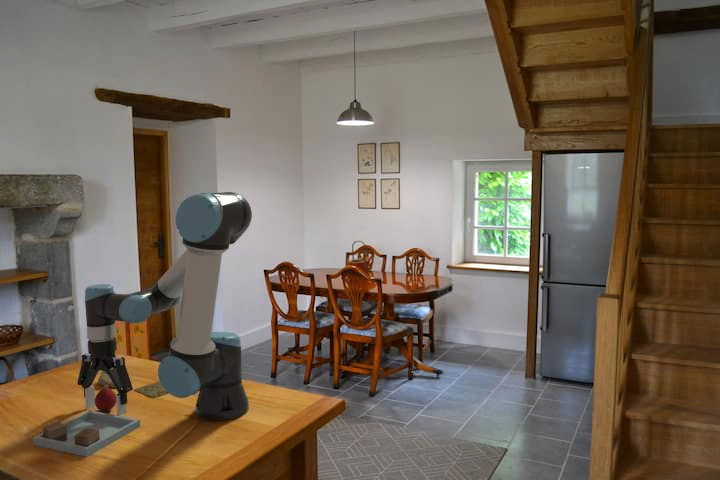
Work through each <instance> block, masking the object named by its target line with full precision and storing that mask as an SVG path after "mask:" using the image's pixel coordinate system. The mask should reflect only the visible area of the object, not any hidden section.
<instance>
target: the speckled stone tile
mask: <svg viewBox="0 0 720 480" xmlns="http://www.w3.org/2000/svg"><path fill="white" fill-rule="evenodd" d="M132 391H134V392H137V393H138V394H139V393H140V394H142V395H144V396H146V397H148V398H151V399H157V398H160V397H162V396H165V395H168V394H169V393H168V392H167V391H166V390H165V389H164V387H163V386H162V385H161V383H160V380H159V381H155V382H153V383H150V384H147V385H143V386H140V387H137V388H133V390H132Z"/></svg>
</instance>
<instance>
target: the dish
mask: <svg viewBox="0 0 720 480" xmlns="http://www.w3.org/2000/svg"><path fill="white" fill-rule="evenodd" d="M61 423H62V424H64V425H66V432H67V440H66V441H63V442H62V441H58V440H53V439H48V438H44V437H43V432H42V433H40V434H39V433H38V434H37V435H35V436H33V437H32V441H33V442H32V444H33V446H37V447H42V448H46V449H51V450H55V451H58V452H63V453H69V454H73V455H76V456H80V457H85V458H89V457H90V456H91V455H93V454H95V453H97V452H99V451H100V450H102V449H104V448H106V447H107V446H109V445H111V444H112V443H114V442H115V441H116V442H117V441H118V440H119V439H122V438H123V437H124V436H126V435H129V434H130V433H132V432H133V431H135V430H137V429H139V428H140V427H141V420H140V419H137V418H132V417H128V416H121V415H117V414H116V415H115V414H111V413H107V412H102V411H95V410H90V409H88V410H87V411H85V412H83V413H81V414H78V415H77V416H75V417H73V418H70V419H69V420H66V421H64V422H61ZM84 429H94V430H99V437H100V440H99V441H97V442H95V443H93V444H91V445H89V446H88V447H85V446H80V445H76V444H75V439H74V436H75V435H76V434H78V433H79V432H81V431H82V430H84Z"/></svg>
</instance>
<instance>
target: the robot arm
mask: <svg viewBox="0 0 720 480" xmlns="http://www.w3.org/2000/svg"><path fill="white" fill-rule="evenodd" d="M252 214H253V213H252V207H251V205H250V203H249V201H248V200H247V199H246V198H245V197H243V196H242V195H241V194H239V193H237V192H233V191H232V192H231V191H226V192H224V191H223V192H200V193H197V194H193V195H190V196H188V197H186V198H185V199H183V201H182V202H180V204H179V205H178V207H177V210H176V214H175V219H174V221H175V227H176V229H177V230H178V234H179V236H180V237H181V238H182V242H181V243H182V246H183V247H185V248H186V249H185V251H184V252H183V253H182V254H181V255H180V256H179V257H178V258H177V260H176V261H175V262H174V263H173V264H172V265H171V266H170V268H168V269H167V271H166V272H165V273H164V274H163V275H162V276H161V277H160V279H159V280H158V281H156V283H155V284H154V285H153V286H151V287H149V288H147V289H143V290H139V291H135V292H131V293H127V294H126V293H125V294H123V293H115V289H114V286H113V285H111V284H109V283H99V284H98V283H97V284H92V285H89V286H87V287H86V288H85V290H84V303H85V305H84V306H85V319H86V337H87V340H88V341H87V353H84V354H82V355H81V365H80V370H79V374H78V379H77V385H78V386H81V387H82V389H83V397H84V401H85V410H87V411H89V410H90V409H92V408H95V407H96V405H95V397H96V394H95V385H94V381H95V379H96V377H97V375H98V373H99V371H101V372H102V371H105V372H106V374H108V375H109V376H110V378H111V380H112V382H113V384H114V386H115V387H114V388H115V389H116V391H117V394H116V393H115V394H116V400H117V402H116V413H117V414H116V415H117V416H121V415H125V414H127V403H128V393H129V392H131V391H134V390H133V389H134V388H133V385H132V381H131V379H130V376H129V371H128V369H127V366H126V358H125V357H124V356H122V357H117V356H116V352H117V349H118V346H117V344H118V343H117V338H116V335H117V334H116V333H117V331H116V330H117V329H116V322H121V323H122V322H123V323H127V324H128V323H130V324H140V323H141V324H142V323H144V322H146V321H147V319H148V318H150V317H151V315H155V314H158V313H161V312H164V311H169V310H171V309H172V308H174V307H176V306H177V305H178V304H179V303H180V302H181V305H180V310H179V311H180V312H179V319H178V328H177V336H176V337H175V338H173V339H172V340H171V341H170V343H169V351H168V356H166V357H164V358H163V359H162V360H161V361H160V363H159V365H158V366H157V367H158V368H157V376H158V380H159V381H160V383H161V385H162V386H163V387H164V389H165V390H166V391H167V392H168V394H169V395H171V396H172V397H174V398H177V399H184V398H189V397H191V396H194V395H196V394H198V395H197V399H196V402H195V415H196V417H198V418H199V419H200V420H204V421H210V422H211V421H212V422H219V421H227V420H233V419H237V418H239V417H241V416H244V415H245V414H246V413H247V412H248V411H249V405H250V404H249V401H250V400H249V399H248V396H247V393H246V390H245V388H244V385H243V381H242V379H243V378H242V377H243V375H242V373H243V372H242V369H243V368H242V347H243V346H242V345H241V344H242V343H241V337H240V336H239V334H237V333H233V332H228V331H213V324H214V317H215V308H216V302H217V294H218V286H219V279H220V271H221V264H222V256H223V254H224V253H225V252H226V251H228V250H229V248H230V245H234V244H235V243H236V242H237V241H238V240H239V239H240V238H241V237H242V235H244V233H245V232H246V231H247V230H248V228H250V224H252V223H251V221H252V218H253V215H252ZM181 295H182V296H181ZM180 299H181V301H180ZM110 369H111V370H110Z"/></svg>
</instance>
